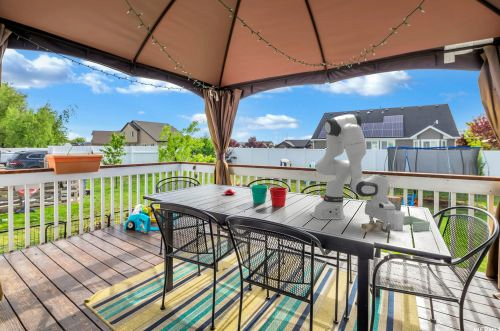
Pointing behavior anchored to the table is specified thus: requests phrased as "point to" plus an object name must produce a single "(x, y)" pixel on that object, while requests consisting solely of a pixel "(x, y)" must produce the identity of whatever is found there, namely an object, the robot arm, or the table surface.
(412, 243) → the table surface
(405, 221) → the box
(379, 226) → the scraper
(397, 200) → the stack of blocks
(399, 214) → the white cup
